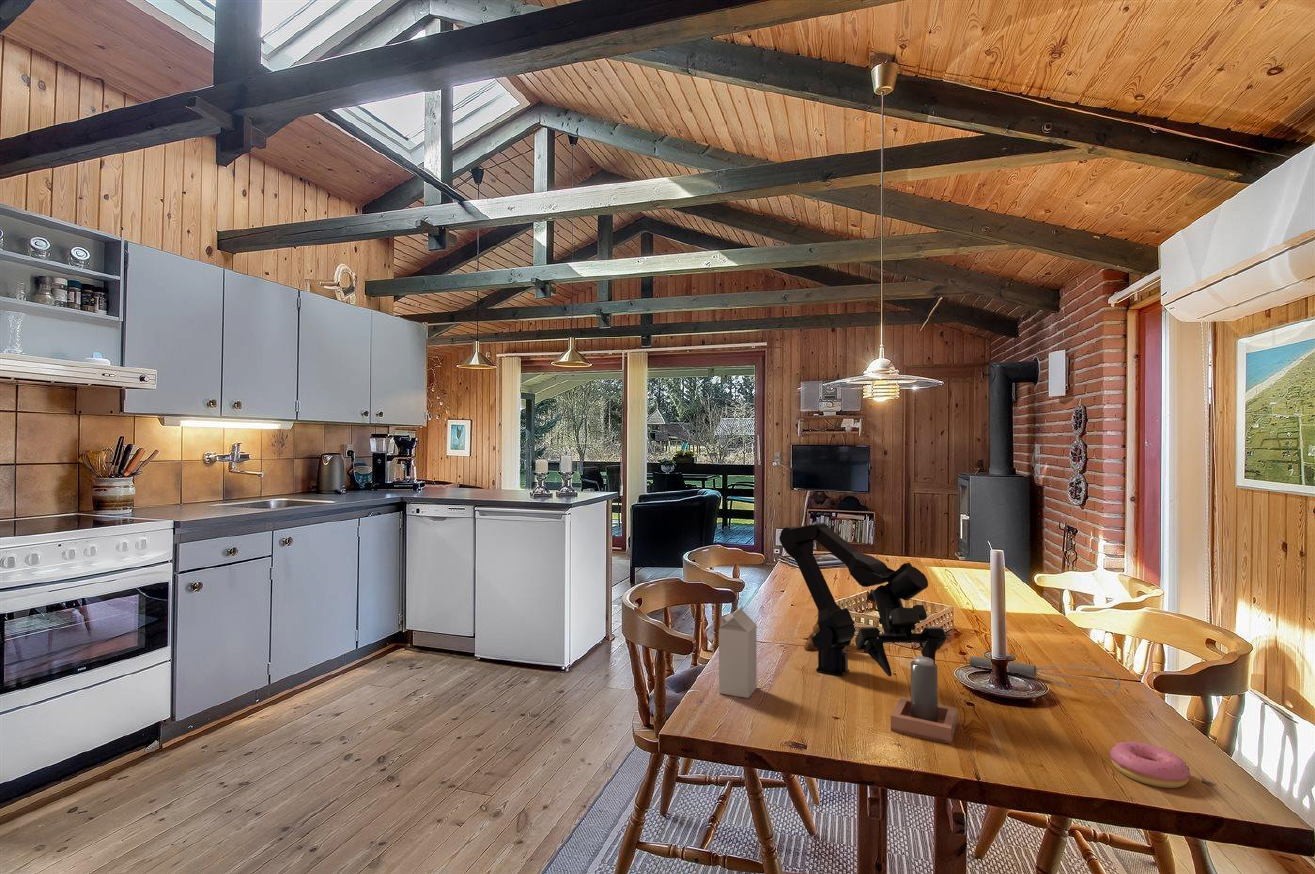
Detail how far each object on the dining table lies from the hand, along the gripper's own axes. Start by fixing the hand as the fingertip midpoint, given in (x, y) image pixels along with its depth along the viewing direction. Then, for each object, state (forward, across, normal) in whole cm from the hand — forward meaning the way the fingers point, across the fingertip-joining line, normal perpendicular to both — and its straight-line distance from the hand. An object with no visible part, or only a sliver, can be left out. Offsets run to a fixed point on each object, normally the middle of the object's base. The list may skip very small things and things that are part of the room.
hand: (911, 675), depth 129 cm
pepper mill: (+9, 0, +2) cm, 9 cm away
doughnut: (+23, +31, -11) cm, 40 cm away
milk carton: (-4, -35, +16) cm, 39 cm away
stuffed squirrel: (-26, -4, +39) cm, 47 cm away
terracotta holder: (+10, 0, +2) cm, 10 cm away
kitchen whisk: (-8, +40, +20) cm, 45 cm away
